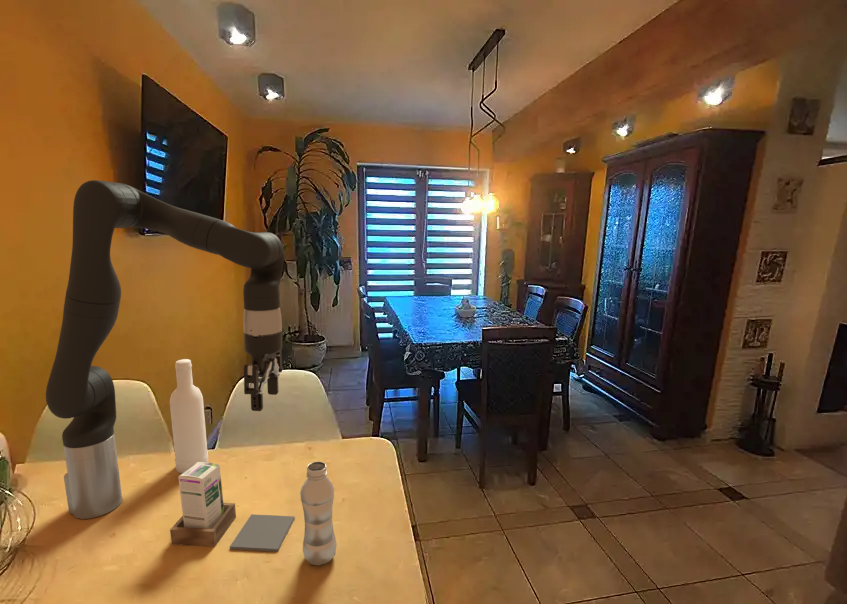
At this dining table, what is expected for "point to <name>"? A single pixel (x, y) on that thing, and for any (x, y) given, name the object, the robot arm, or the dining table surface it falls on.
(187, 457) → the bottle
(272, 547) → the coaster
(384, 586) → the dining table surface
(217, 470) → the syrup box
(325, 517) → the plastic bottle
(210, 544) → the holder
